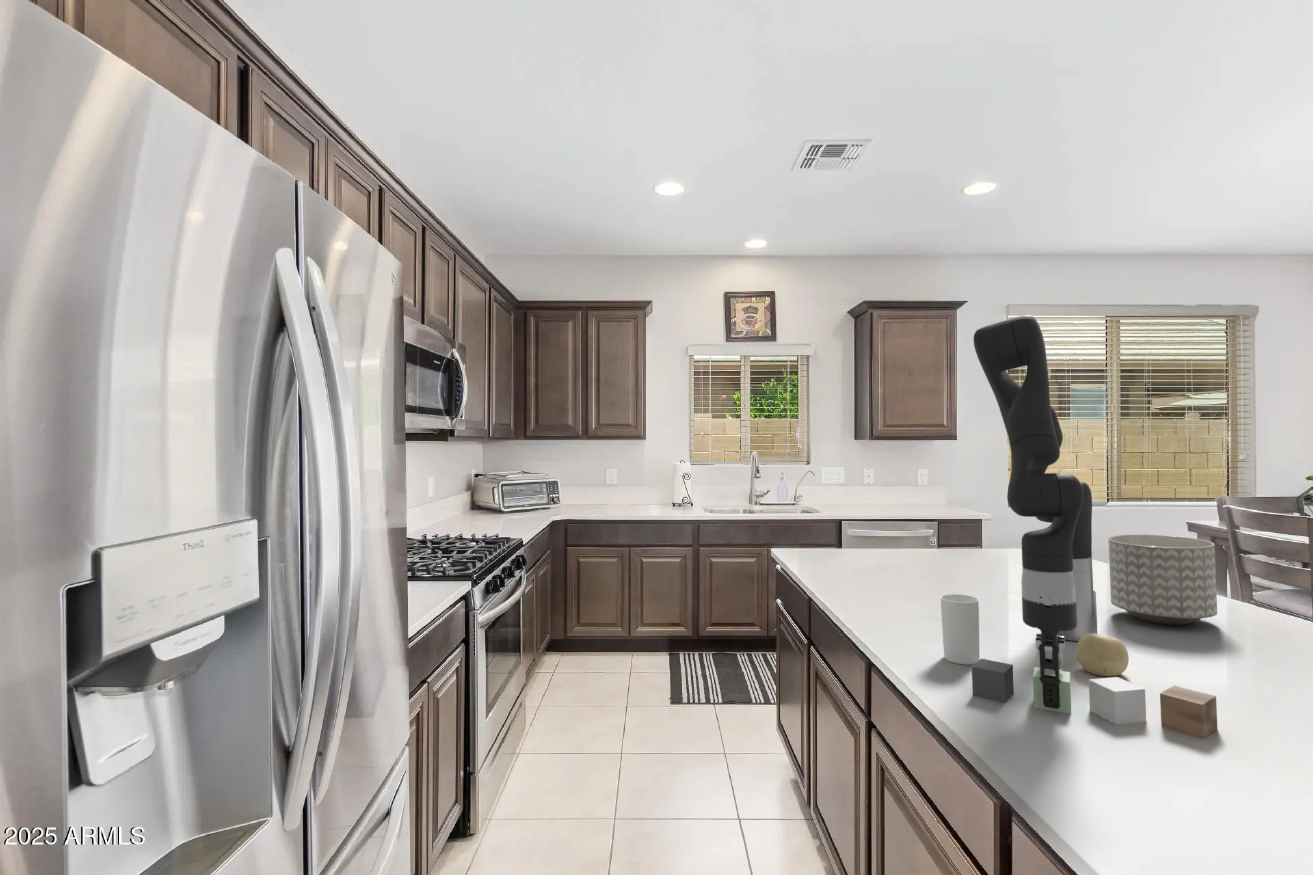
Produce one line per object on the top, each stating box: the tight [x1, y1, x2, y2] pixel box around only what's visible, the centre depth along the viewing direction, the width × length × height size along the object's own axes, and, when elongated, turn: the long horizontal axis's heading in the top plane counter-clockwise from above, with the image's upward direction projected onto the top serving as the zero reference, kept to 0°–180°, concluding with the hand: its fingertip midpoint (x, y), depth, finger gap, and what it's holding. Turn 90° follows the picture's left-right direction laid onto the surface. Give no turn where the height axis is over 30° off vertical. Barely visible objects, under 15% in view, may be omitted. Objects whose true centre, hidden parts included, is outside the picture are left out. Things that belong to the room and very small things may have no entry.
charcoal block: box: [971, 658, 1015, 704], centre depth 107 cm, size 5×5×5 cm
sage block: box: [1032, 666, 1072, 715], centre depth 103 cm, size 5×5×5 cm
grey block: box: [1088, 676, 1147, 725], centre depth 98 cm, size 5×5×5 cm
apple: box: [1075, 633, 1129, 677], centre depth 115 cm, size 8×8×8 cm
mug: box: [940, 593, 980, 666], centre depth 125 cm, size 10×7×12 cm, turn 137°
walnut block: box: [1159, 685, 1218, 740], centre depth 93 cm, size 5×5×5 cm
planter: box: [1107, 534, 1218, 626], centre depth 145 cm, size 19×19×18 cm
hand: (1052, 698), depth 103 cm, fingers open, 7 cm apart
